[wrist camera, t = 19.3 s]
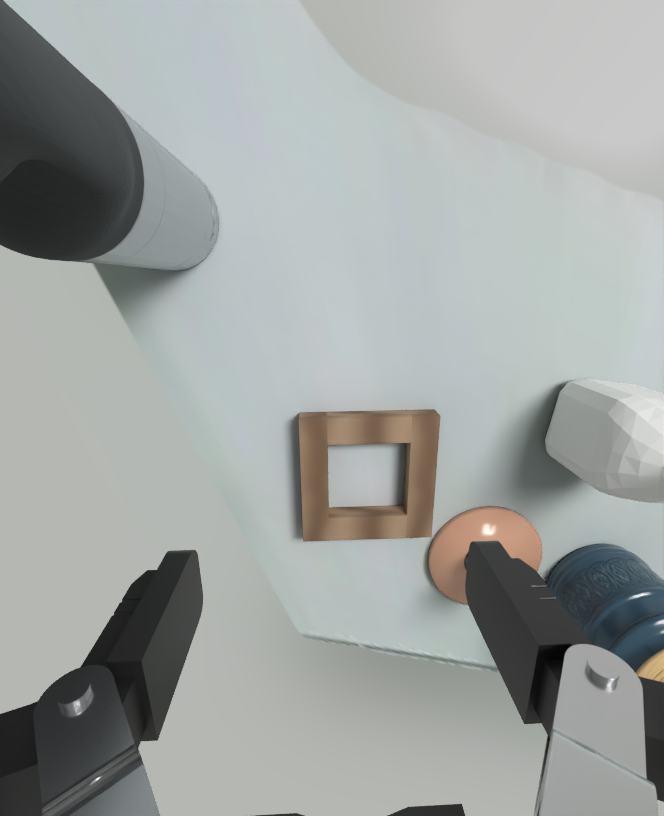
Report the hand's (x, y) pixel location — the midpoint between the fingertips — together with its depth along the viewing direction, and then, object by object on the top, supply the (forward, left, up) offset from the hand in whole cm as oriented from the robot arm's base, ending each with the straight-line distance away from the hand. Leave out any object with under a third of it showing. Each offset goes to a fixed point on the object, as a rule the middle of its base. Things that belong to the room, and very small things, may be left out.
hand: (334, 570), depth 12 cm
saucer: (+20, -25, -32) cm, 45 cm away
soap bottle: (+30, -7, -32) cm, 45 cm away
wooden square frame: (+5, -13, -32) cm, 35 cm away
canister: (+35, -30, -32) cm, 56 cm away
